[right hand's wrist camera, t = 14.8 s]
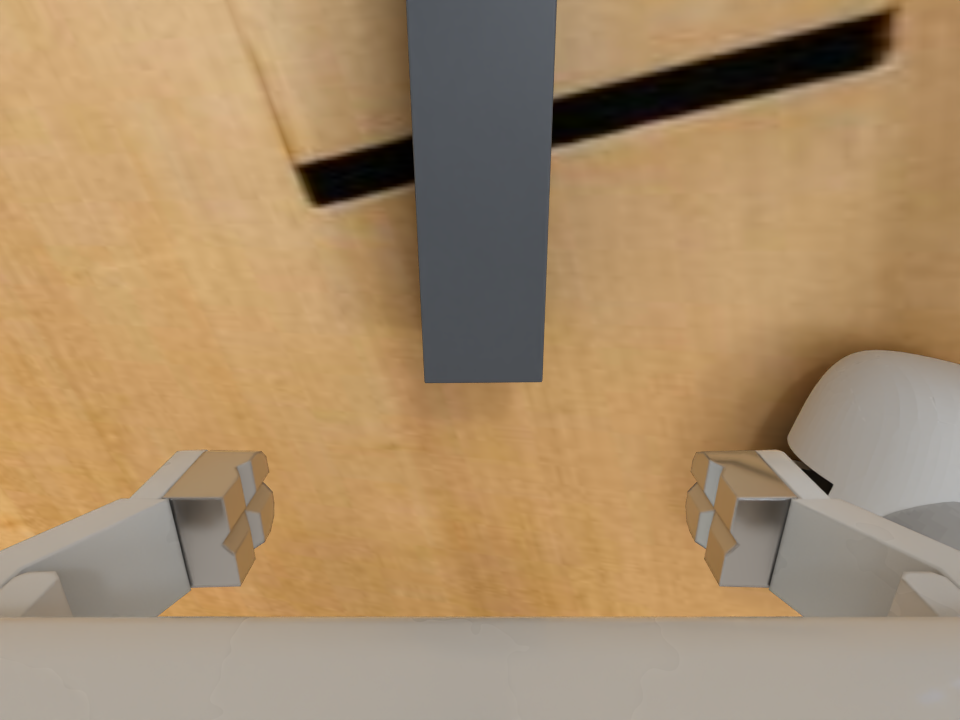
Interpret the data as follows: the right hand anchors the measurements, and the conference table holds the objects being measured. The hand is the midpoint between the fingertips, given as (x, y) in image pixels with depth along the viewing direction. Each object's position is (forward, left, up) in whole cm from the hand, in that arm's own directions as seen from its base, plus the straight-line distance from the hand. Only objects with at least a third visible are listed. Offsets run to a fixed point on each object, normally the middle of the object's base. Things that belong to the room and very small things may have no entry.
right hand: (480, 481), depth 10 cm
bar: (+5, -5, -23) cm, 24 cm away
